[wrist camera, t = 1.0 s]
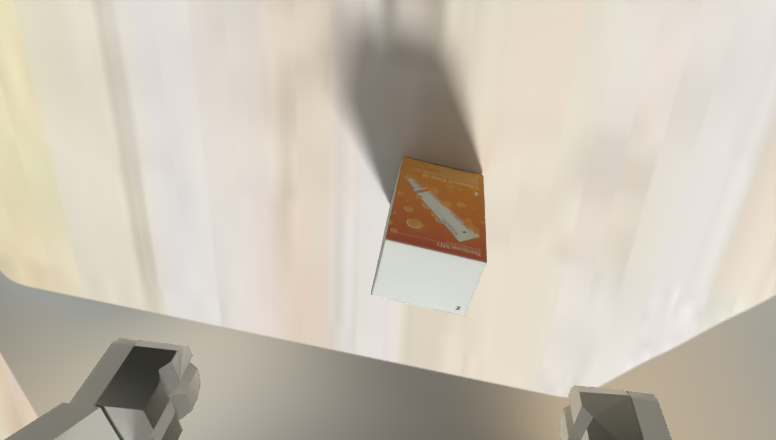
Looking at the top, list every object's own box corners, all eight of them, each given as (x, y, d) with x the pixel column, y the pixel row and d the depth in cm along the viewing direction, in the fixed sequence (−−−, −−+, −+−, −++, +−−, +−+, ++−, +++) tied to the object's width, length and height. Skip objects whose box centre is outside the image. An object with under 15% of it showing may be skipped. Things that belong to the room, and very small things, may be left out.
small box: (484, 172, 48) (490, 263, 37) (465, 224, 52) (466, 319, 41) (401, 153, 48) (383, 239, 37) (388, 207, 51) (369, 297, 41)
